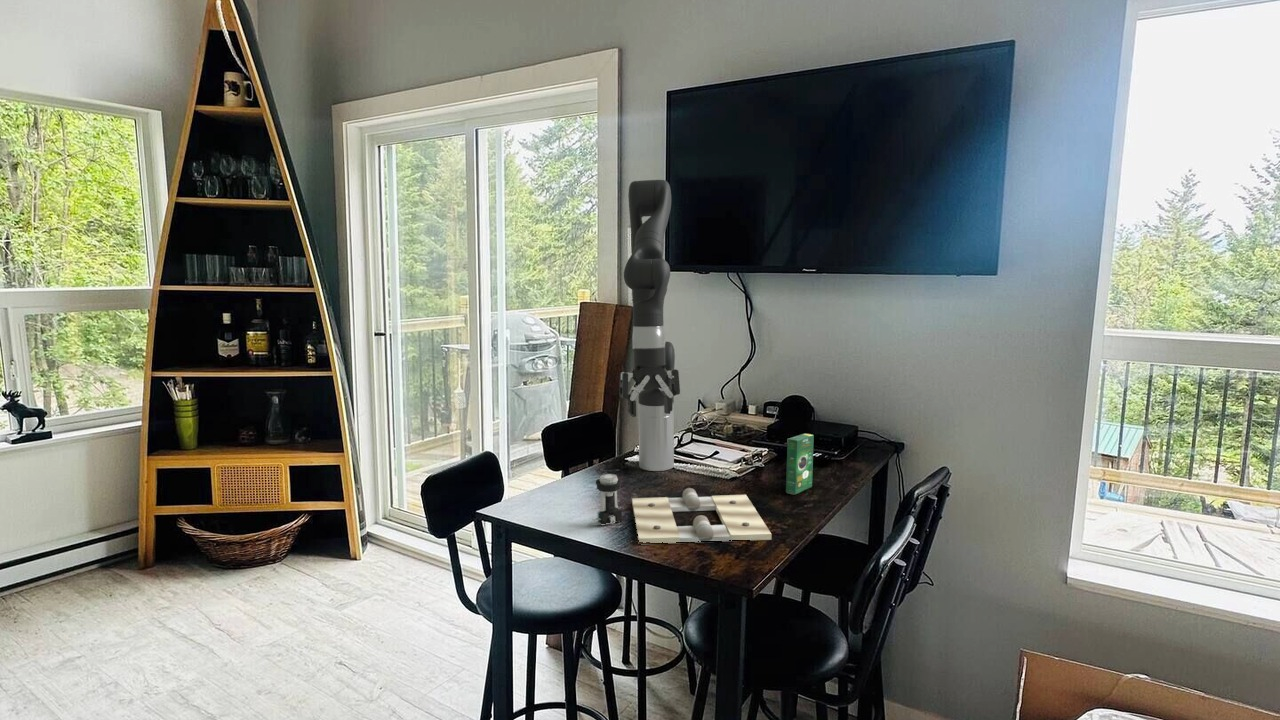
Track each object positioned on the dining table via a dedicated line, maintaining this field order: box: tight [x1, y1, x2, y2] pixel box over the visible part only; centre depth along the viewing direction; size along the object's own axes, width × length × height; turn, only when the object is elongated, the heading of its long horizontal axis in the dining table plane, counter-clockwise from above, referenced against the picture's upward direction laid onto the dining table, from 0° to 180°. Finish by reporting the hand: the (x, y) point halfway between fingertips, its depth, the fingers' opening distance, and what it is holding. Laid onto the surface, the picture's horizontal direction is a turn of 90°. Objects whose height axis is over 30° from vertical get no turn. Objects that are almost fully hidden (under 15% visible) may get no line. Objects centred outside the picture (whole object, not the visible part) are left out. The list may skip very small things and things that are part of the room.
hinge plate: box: [631, 487, 772, 544], centre depth 148 cm, size 23×26×3 cm
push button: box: [592, 473, 623, 526], centre depth 146 cm, size 7×5×10 cm
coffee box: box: [785, 432, 815, 495], centre depth 166 cm, size 8×3×13 cm, turn 137°
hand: (650, 414), depth 165 cm, fingers open, 8 cm apart
